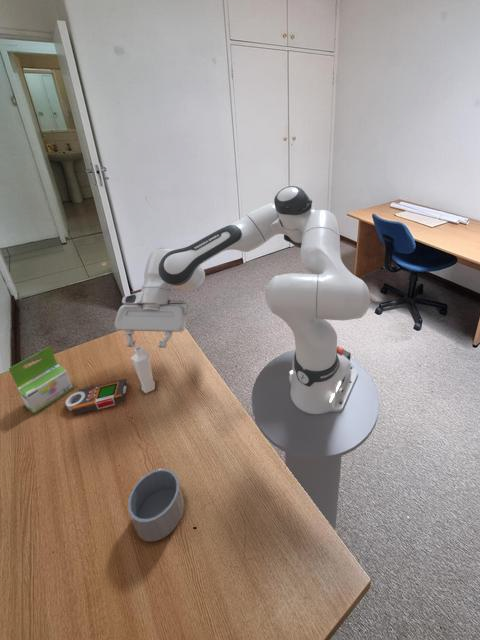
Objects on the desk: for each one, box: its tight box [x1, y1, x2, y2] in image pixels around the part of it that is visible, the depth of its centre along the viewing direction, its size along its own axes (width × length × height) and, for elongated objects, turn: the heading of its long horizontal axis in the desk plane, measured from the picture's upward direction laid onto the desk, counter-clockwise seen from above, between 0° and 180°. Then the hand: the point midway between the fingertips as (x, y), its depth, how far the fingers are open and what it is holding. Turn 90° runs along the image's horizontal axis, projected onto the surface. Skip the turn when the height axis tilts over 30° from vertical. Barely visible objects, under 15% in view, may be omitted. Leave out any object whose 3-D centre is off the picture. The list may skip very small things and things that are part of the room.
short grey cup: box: [127, 468, 185, 542], centre depth 66 cm, size 9×9×7 cm
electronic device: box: [64, 378, 128, 416], centre depth 92 cm, size 7×3×15 cm
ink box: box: [8, 345, 74, 415], centre depth 90 cm, size 10×5×14 cm, turn 148°
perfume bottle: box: [130, 345, 156, 394], centre depth 93 cm, size 5×4×15 cm
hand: (146, 347), depth 95 cm, fingers open, 8 cm apart
